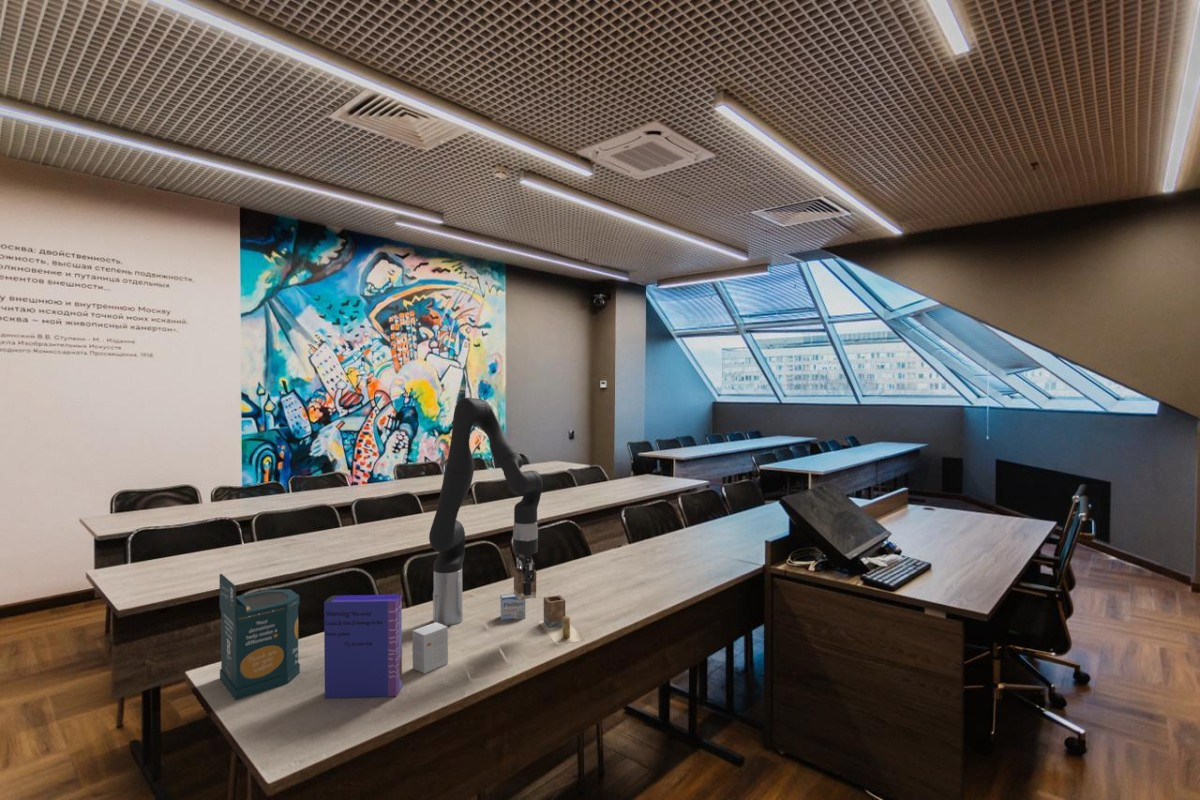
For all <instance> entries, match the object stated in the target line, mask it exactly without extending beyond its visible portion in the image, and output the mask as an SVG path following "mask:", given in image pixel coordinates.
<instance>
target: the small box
mask: <svg viewBox="0 0 1200 800" xmlns="http://www.w3.org/2000/svg"><path fill="white" fill-rule="evenodd" d="M448 631H449V628H448V626H445V625H442V624H440V623H437V622H435V623H434V622H433V623H430V624H428V625H424V626H421V627H418V628H417V629H413V630H412V632H411V634H412V639H411V640H412V642H411V643H412V646H411V647H412V649H411V650H412V669H414V670H416V671H417V672H420V673H421V674H427V673H429V672H432V671H434V670H436V669H439V668H441V667H443V666H446V665H448V664H449V641H448V640H449V637H448V636H449V633H448Z"/></svg>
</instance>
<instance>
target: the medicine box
mask: <svg viewBox="0 0 1200 800" xmlns="http://www.w3.org/2000/svg"><path fill="white" fill-rule="evenodd" d="M500 619H501V621H510V620H522V619H526V599H521V600H518V599H517V598H516V596H515V595H514V592H513V593H512V592H511V593H502V594H500Z"/></svg>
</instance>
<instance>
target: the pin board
mask: <svg viewBox="0 0 1200 800" xmlns="http://www.w3.org/2000/svg"><path fill="white" fill-rule="evenodd" d="M537 622H538V624H539V625H540V626H541V627H542V629H543V630H544V632H545V633H546V634H547V635H548V637H549V638H550V639H551V640H552V642H553V643H554V644H555V645H556V646H559V645H564V644H565V645H566V644H570V643H577V642H582V641H585V638H584V637H583V636H582V635H581V634H580V633H579V632H578V631H577V630H576V629H575V628H574V627H573V625H572V624H571V616H568V615H567V616H566V615H565V617H563V626H558V627H552V628H548V627H547V625H546V624H545V623H544V619H543V620H538V621H537Z"/></svg>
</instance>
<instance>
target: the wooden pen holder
mask: <svg viewBox="0 0 1200 800" xmlns="http://www.w3.org/2000/svg"><path fill="white" fill-rule="evenodd" d="M565 616H566V599H565V598H563V596H562V595H559V594H557V595H551V596H544V597H543V620H544V623H545V624H546V625H547V627H548V628H552V627H558V626H563V617H565Z"/></svg>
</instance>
